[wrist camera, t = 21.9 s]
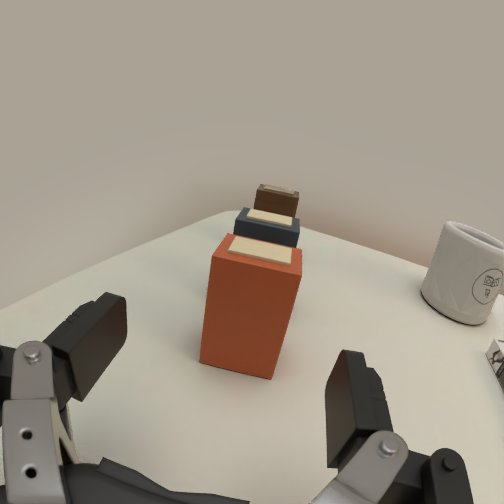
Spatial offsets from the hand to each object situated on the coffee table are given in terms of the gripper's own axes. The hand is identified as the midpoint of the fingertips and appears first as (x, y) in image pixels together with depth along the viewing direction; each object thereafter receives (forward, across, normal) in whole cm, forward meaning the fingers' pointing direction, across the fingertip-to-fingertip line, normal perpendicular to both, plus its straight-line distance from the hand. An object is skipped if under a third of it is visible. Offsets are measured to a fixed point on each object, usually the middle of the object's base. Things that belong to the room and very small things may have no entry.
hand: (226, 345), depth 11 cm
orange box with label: (+9, 0, +8) cm, 12 cm away
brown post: (+30, 0, +8) cm, 31 cm away
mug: (+25, -28, +8) cm, 38 cm away
